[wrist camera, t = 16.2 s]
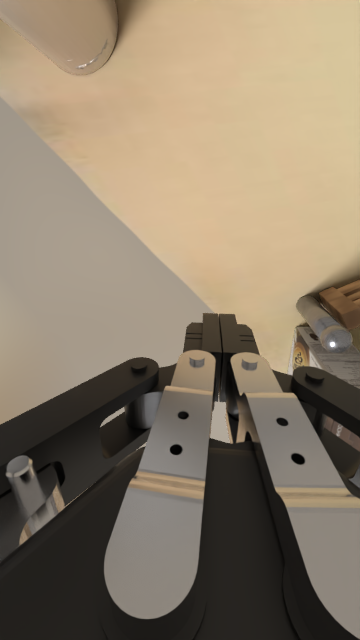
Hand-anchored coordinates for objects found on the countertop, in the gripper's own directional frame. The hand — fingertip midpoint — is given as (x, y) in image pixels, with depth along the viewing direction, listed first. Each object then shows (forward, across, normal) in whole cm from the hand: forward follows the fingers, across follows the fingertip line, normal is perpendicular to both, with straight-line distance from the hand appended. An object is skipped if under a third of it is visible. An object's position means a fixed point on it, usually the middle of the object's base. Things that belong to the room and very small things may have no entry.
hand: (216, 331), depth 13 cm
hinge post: (+27, -14, +9) cm, 32 cm away
